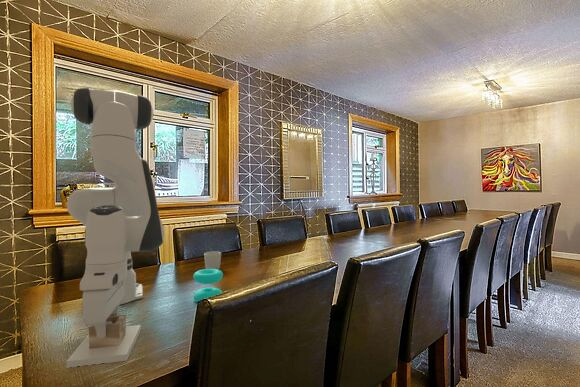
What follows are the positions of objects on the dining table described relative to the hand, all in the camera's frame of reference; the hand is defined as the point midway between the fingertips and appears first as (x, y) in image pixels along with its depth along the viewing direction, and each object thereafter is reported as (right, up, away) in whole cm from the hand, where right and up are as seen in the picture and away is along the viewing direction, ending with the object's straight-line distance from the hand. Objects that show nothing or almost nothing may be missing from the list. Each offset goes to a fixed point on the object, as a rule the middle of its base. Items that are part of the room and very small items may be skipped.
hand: (107, 328), depth 79 cm
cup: (+8, -3, +75) cm, 76 cm away
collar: (0, -3, 0) cm, 3 cm away
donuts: (+16, -4, +33) cm, 37 cm away
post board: (0, -5, 0) cm, 5 cm away
